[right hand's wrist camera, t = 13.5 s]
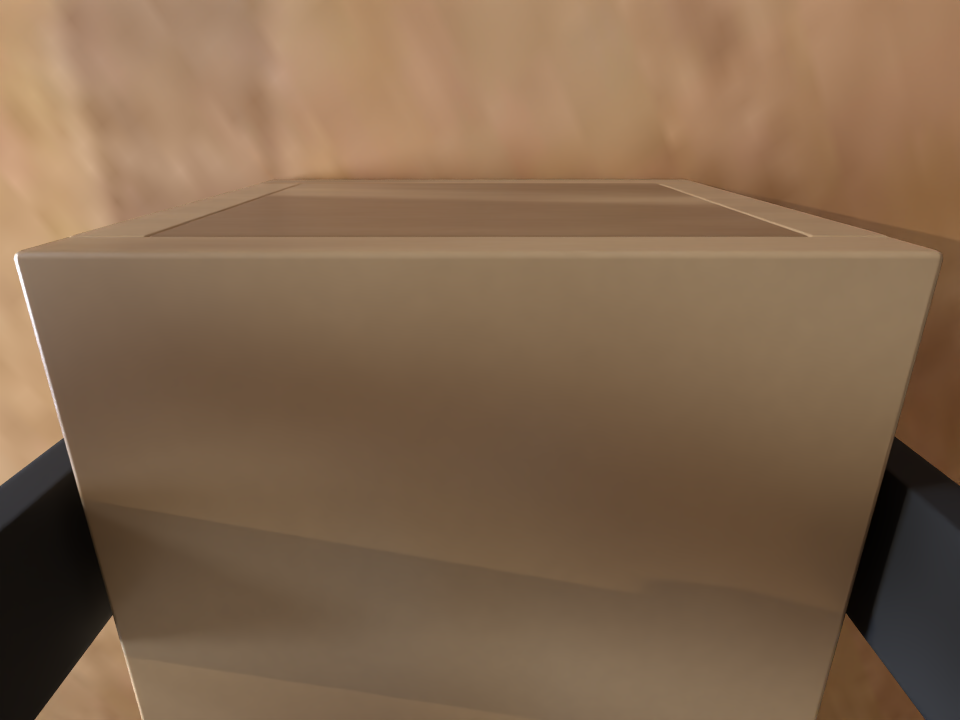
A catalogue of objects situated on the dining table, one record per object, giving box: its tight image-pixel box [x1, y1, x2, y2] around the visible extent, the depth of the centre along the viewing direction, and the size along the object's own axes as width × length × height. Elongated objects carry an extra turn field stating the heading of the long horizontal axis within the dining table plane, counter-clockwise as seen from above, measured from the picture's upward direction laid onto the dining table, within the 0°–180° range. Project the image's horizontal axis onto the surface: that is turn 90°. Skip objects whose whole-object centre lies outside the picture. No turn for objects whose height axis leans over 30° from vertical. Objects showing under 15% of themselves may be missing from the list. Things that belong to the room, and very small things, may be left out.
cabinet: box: [14, 179, 943, 720], centre depth 16 cm, size 21×11×10 cm, turn 0°
